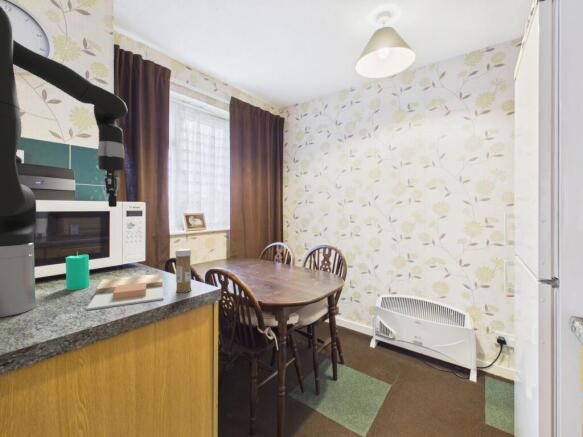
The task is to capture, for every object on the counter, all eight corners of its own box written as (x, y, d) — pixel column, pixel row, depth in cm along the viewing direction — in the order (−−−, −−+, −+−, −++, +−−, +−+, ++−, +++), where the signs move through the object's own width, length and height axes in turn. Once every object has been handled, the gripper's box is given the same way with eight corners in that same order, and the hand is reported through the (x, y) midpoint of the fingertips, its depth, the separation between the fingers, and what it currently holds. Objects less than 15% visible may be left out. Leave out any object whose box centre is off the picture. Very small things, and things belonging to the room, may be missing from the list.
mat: (86, 310, 68) (86, 308, 68) (96, 295, 79) (96, 293, 79) (163, 299, 76) (163, 297, 76) (162, 287, 87) (162, 286, 87)
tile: (113, 300, 74) (113, 293, 74) (117, 291, 81) (116, 285, 81) (145, 295, 78) (145, 289, 78) (146, 288, 85) (146, 282, 85)
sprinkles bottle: (192, 291, 83) (192, 249, 83) (177, 294, 81) (176, 251, 80) (189, 288, 87) (189, 248, 87) (174, 290, 85) (174, 249, 84)
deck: (96, 295, 79) (96, 289, 79) (103, 285, 90) (103, 279, 90) (162, 287, 87) (162, 281, 87) (161, 278, 98) (161, 273, 98)
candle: (92, 283, 91) (91, 249, 91) (85, 289, 85) (84, 252, 85) (71, 285, 89) (70, 250, 89) (62, 290, 84) (61, 253, 83)
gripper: (101, 159, 94) (102, 206, 95) (94, 152, 83) (95, 206, 83) (126, 160, 98) (127, 207, 99) (122, 154, 86) (123, 206, 87)
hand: (112, 206), depth 91 cm, fingers closed
